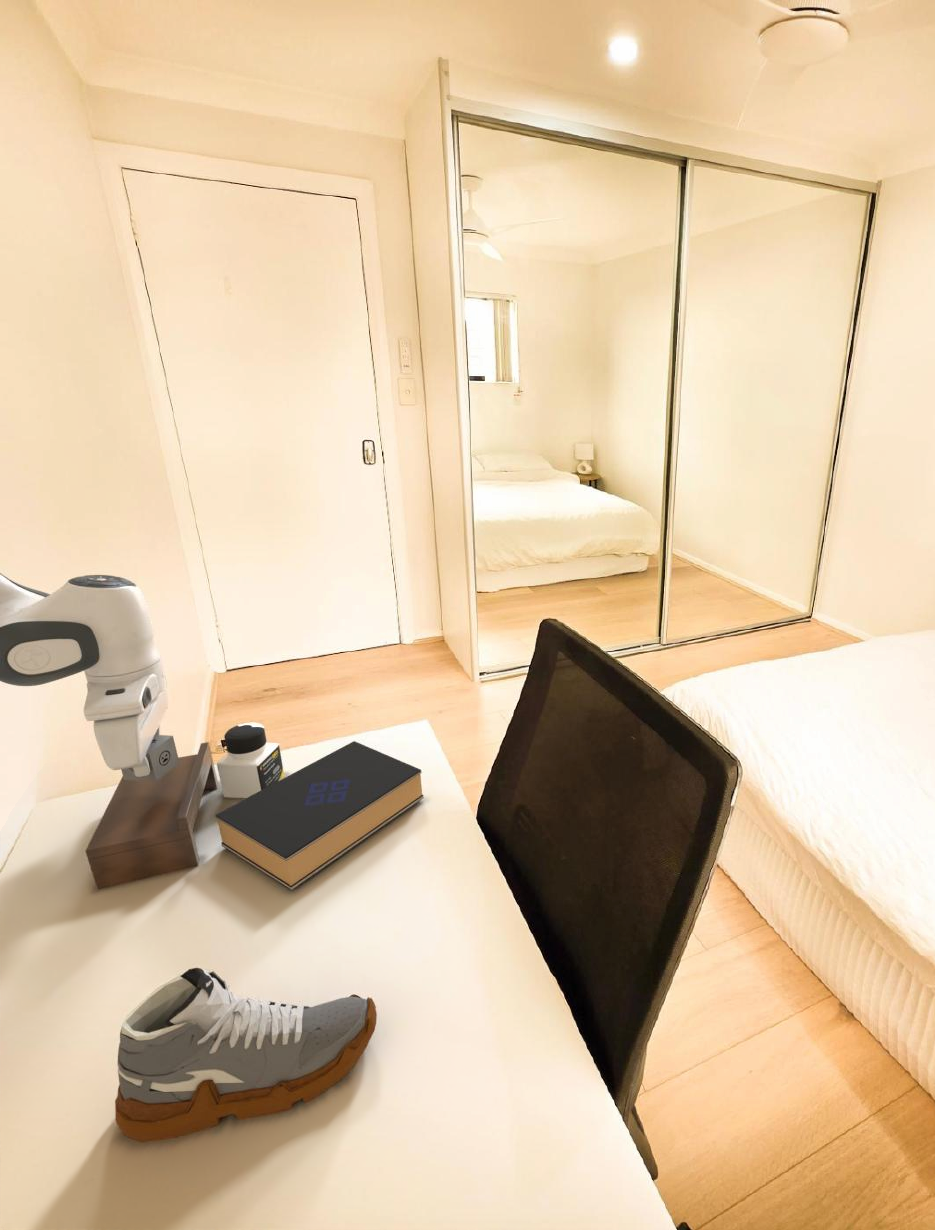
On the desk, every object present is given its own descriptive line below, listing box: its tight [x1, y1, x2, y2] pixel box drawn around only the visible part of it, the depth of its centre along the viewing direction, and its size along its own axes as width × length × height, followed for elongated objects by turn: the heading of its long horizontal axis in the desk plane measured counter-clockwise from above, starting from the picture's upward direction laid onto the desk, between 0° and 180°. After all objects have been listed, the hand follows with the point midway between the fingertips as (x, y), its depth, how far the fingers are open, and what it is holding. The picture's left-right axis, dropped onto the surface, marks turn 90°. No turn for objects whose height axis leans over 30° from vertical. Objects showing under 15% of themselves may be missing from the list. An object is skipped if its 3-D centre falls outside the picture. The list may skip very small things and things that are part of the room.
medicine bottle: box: [216, 722, 285, 799], centre depth 107 cm, size 7×7×12 cm
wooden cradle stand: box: [84, 741, 219, 891], centre depth 96 cm, size 12×22×9 cm, turn 25°
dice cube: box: [120, 734, 179, 781], centre depth 94 cm, size 5×5×5 cm
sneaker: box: [114, 967, 378, 1143], centre depth 61 cm, size 9×24×15 cm, turn 107°
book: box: [214, 740, 425, 891], centre depth 99 cm, size 17×25×7 cm
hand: (149, 762), depth 94 cm, fingers closed on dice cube, 5 cm apart
